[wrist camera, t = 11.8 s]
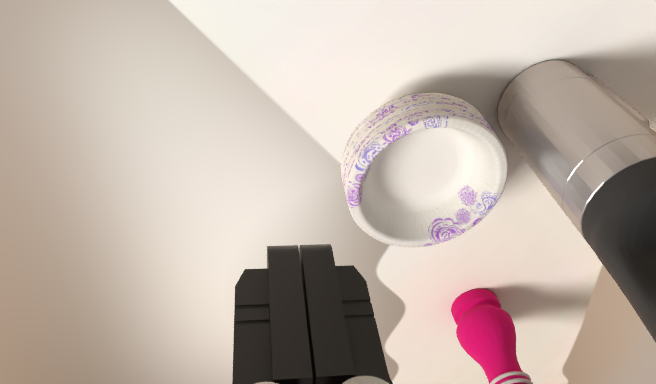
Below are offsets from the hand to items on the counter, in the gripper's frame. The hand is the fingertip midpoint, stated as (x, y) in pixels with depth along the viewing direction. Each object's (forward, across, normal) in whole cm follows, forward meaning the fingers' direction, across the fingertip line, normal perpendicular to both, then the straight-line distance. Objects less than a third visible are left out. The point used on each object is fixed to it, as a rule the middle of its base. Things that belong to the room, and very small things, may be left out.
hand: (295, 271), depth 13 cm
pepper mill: (+37, -28, +44) cm, 64 cm away
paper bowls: (+37, -15, +19) cm, 44 cm away
